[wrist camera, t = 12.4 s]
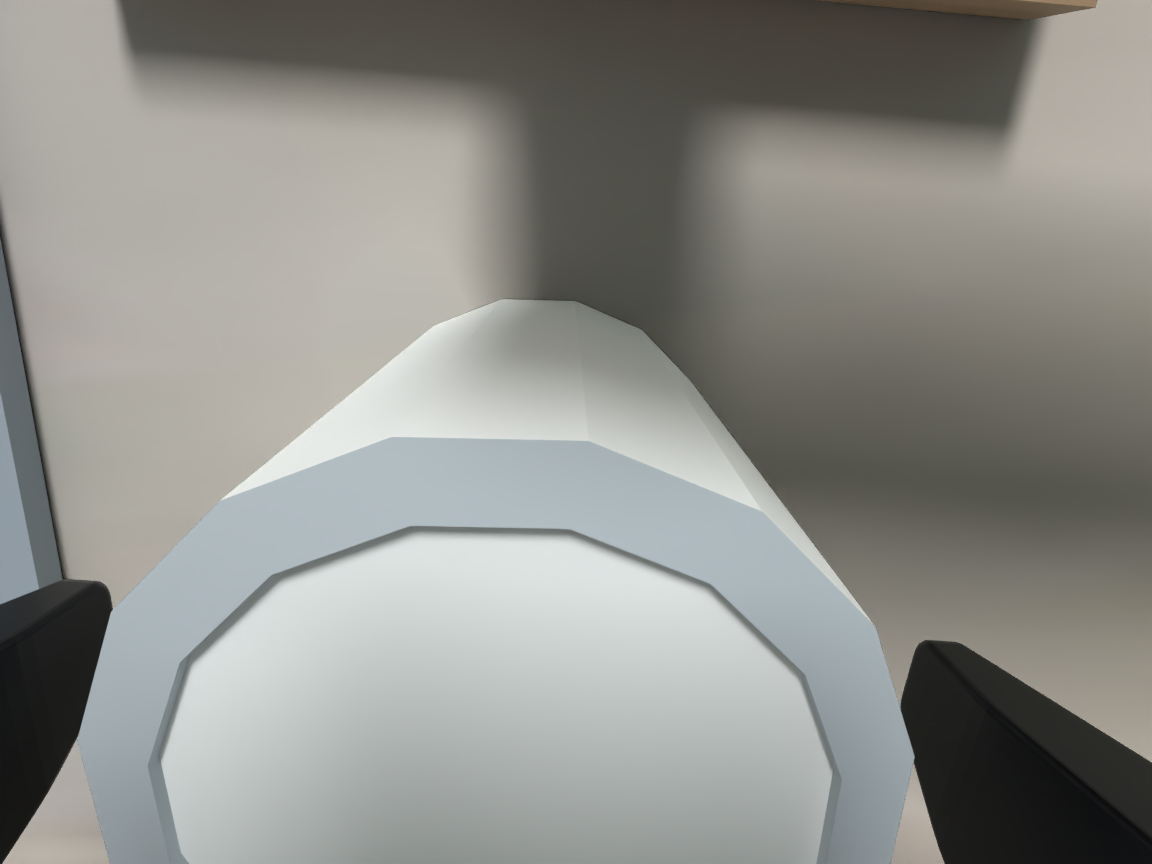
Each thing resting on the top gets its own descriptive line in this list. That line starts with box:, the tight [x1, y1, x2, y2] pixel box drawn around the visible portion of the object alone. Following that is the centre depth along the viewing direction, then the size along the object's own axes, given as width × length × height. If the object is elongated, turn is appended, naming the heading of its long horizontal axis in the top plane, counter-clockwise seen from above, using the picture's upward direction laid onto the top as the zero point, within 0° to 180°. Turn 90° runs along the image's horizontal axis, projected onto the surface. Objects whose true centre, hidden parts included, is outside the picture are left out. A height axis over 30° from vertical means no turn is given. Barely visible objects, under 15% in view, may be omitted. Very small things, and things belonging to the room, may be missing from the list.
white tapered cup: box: [77, 299, 915, 864], centre depth 10 cm, size 7×7×7 cm
